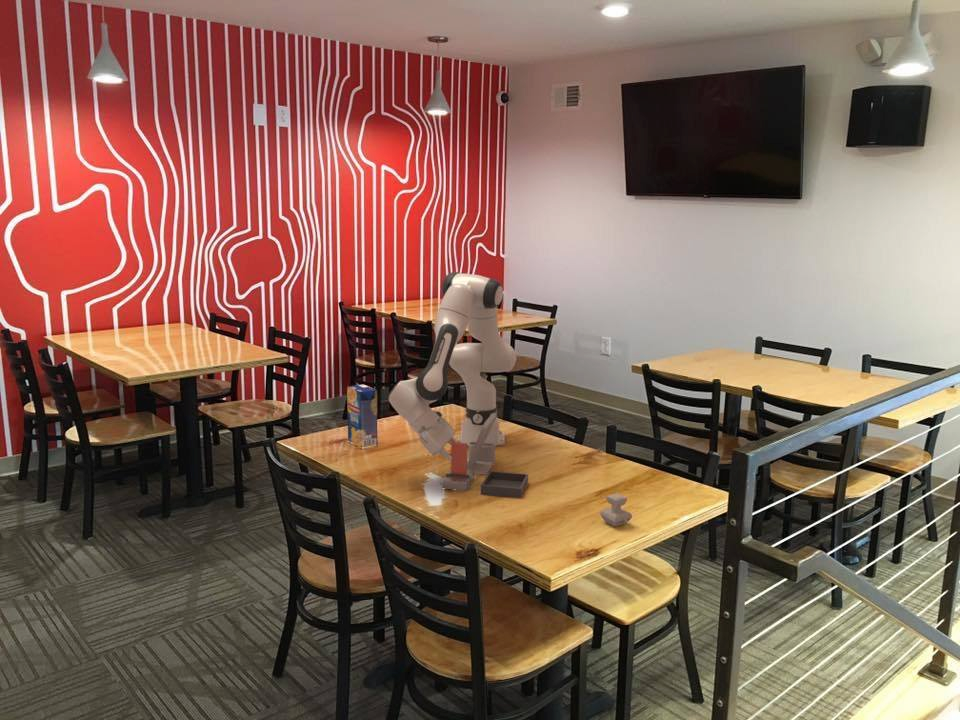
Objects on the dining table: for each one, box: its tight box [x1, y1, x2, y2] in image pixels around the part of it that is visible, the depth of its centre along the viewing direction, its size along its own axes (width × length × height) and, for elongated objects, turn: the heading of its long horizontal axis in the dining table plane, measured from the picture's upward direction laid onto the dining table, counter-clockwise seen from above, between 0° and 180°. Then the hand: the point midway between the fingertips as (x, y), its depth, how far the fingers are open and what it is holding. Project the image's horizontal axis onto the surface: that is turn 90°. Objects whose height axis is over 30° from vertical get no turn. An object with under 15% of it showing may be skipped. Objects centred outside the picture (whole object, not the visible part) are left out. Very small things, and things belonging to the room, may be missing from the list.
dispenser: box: [441, 469, 476, 492], centre depth 255 cm, size 12×8×4 cm, turn 167°
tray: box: [480, 470, 529, 499], centre depth 251 cm, size 14×13×3 cm
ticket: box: [450, 441, 468, 475], centre depth 254 cm, size 1×5×14 cm, turn 77°
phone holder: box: [467, 413, 498, 476], centre depth 271 cm, size 17×10×18 cm, turn 167°
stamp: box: [599, 493, 633, 527], centre depth 224 cm, size 9×7×8 cm
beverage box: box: [346, 383, 378, 448], centre depth 293 cm, size 7×11×22 cm, turn 36°
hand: (455, 454), depth 253 cm, fingers open, 8 cm apart
